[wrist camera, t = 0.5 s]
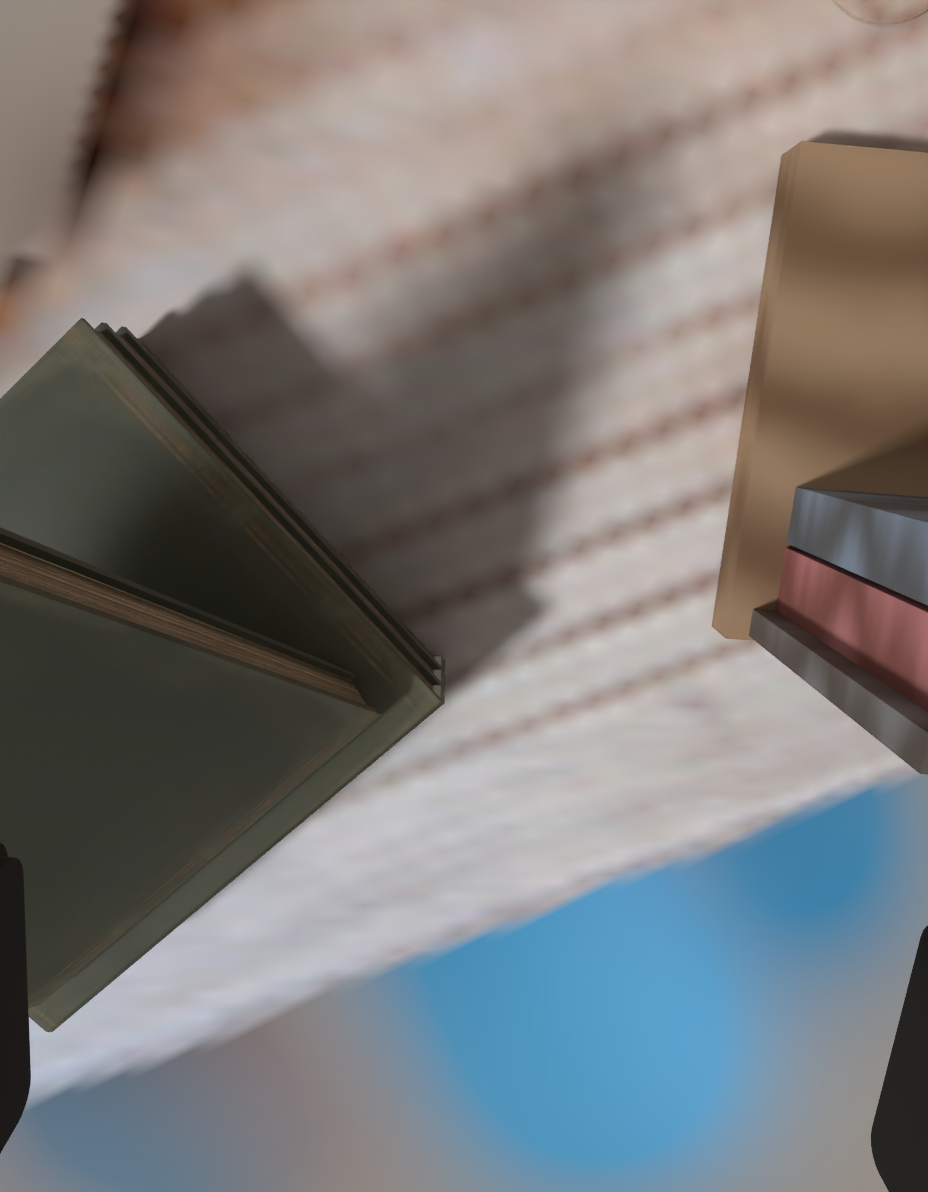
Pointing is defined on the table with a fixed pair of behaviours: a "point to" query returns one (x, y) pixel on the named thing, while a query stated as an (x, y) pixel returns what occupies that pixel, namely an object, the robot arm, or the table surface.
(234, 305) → the table surface
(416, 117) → the table surface
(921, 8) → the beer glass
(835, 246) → the bookend with books
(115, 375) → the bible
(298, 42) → the table surface
